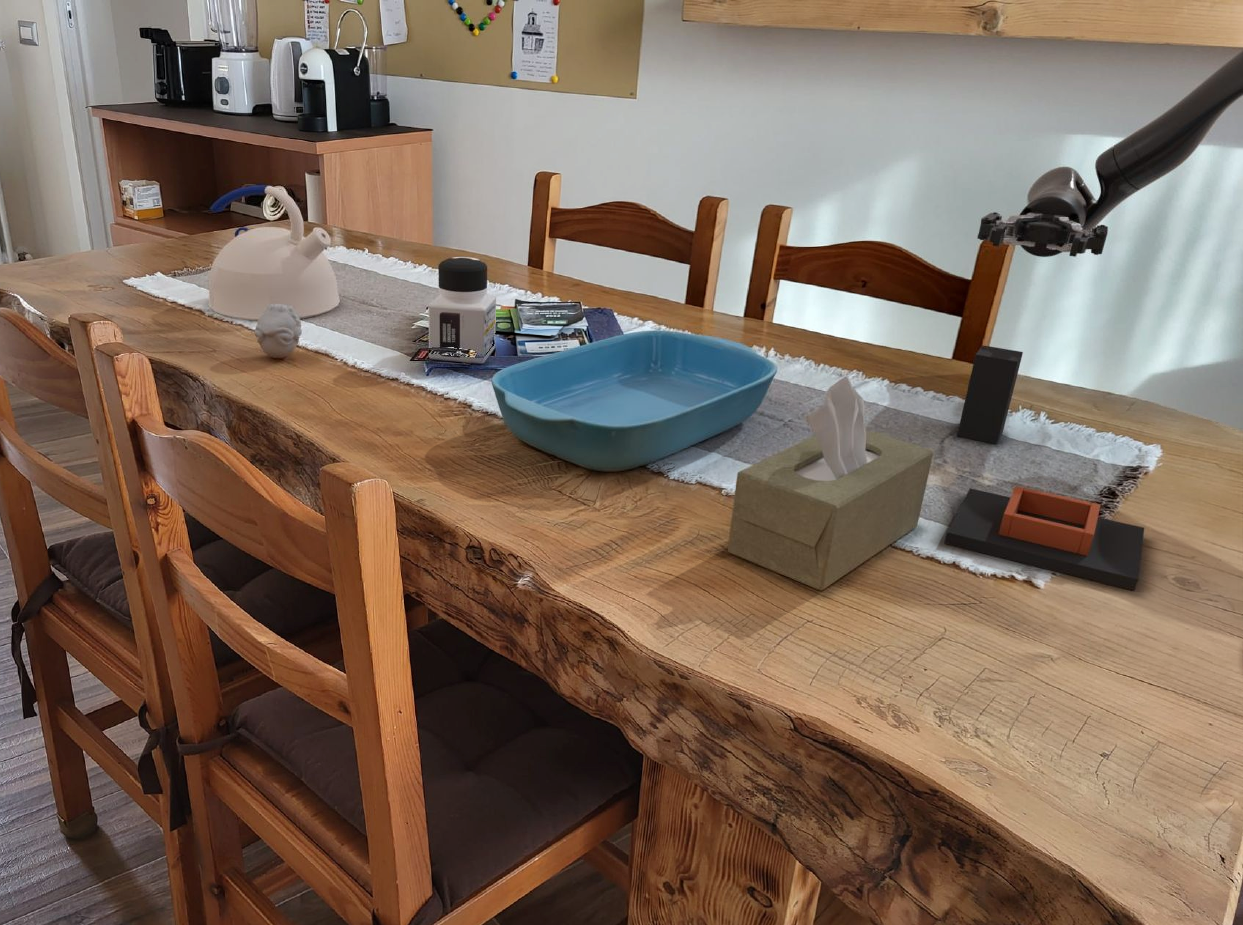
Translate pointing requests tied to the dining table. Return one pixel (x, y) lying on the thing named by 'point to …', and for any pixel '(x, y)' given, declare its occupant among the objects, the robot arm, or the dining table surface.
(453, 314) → the container
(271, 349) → the grey rounded lump
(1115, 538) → the base mat
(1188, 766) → the dining table surface
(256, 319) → the kettle
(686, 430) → the casserole dish
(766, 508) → the tissue box
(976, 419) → the black rectangular block
